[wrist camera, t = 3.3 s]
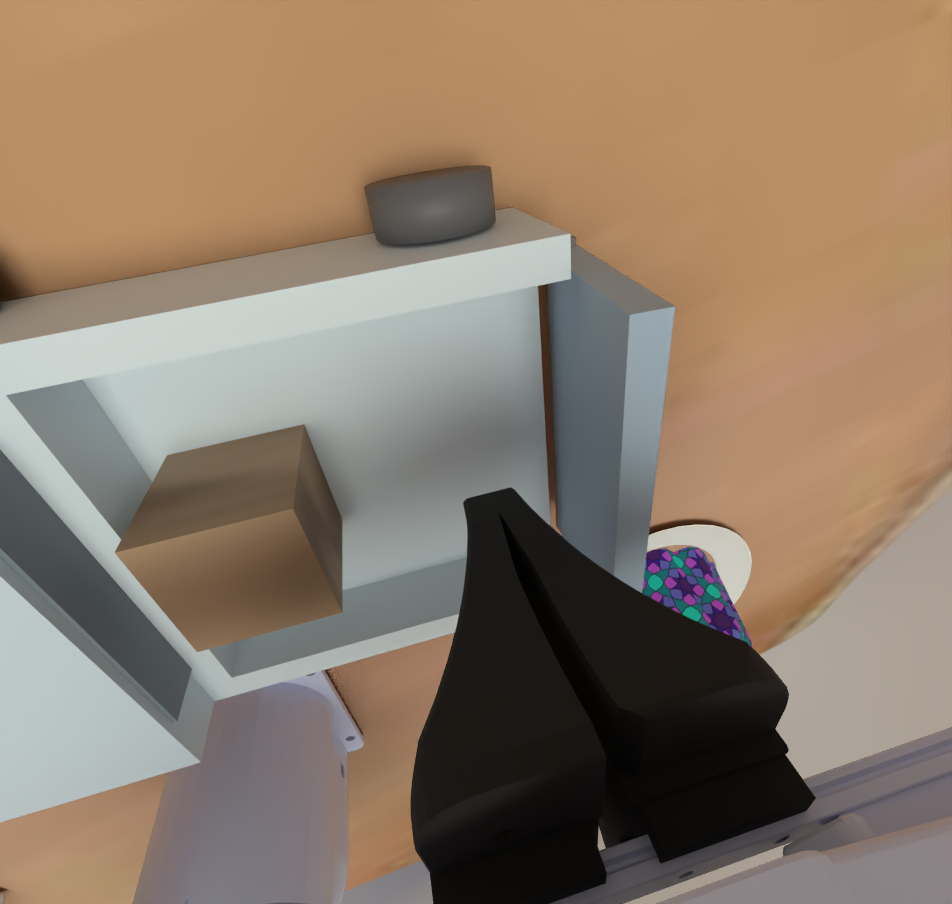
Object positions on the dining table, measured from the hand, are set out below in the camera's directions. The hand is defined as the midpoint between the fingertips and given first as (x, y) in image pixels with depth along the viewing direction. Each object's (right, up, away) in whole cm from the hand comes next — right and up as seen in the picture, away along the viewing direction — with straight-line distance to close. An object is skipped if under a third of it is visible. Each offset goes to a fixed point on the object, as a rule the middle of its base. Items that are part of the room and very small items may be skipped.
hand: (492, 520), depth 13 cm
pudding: (+9, -6, +15) cm, 19 cm away
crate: (-7, +1, +3) cm, 8 cm away
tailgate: (+4, +2, +2) cm, 5 cm away
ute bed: (-8, +2, +4) cm, 9 cm away
